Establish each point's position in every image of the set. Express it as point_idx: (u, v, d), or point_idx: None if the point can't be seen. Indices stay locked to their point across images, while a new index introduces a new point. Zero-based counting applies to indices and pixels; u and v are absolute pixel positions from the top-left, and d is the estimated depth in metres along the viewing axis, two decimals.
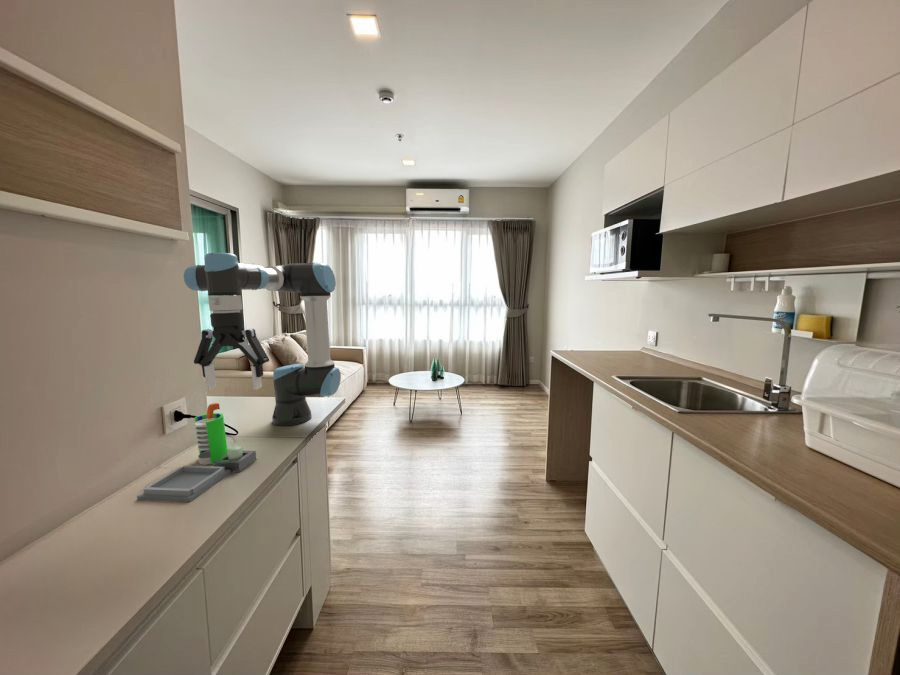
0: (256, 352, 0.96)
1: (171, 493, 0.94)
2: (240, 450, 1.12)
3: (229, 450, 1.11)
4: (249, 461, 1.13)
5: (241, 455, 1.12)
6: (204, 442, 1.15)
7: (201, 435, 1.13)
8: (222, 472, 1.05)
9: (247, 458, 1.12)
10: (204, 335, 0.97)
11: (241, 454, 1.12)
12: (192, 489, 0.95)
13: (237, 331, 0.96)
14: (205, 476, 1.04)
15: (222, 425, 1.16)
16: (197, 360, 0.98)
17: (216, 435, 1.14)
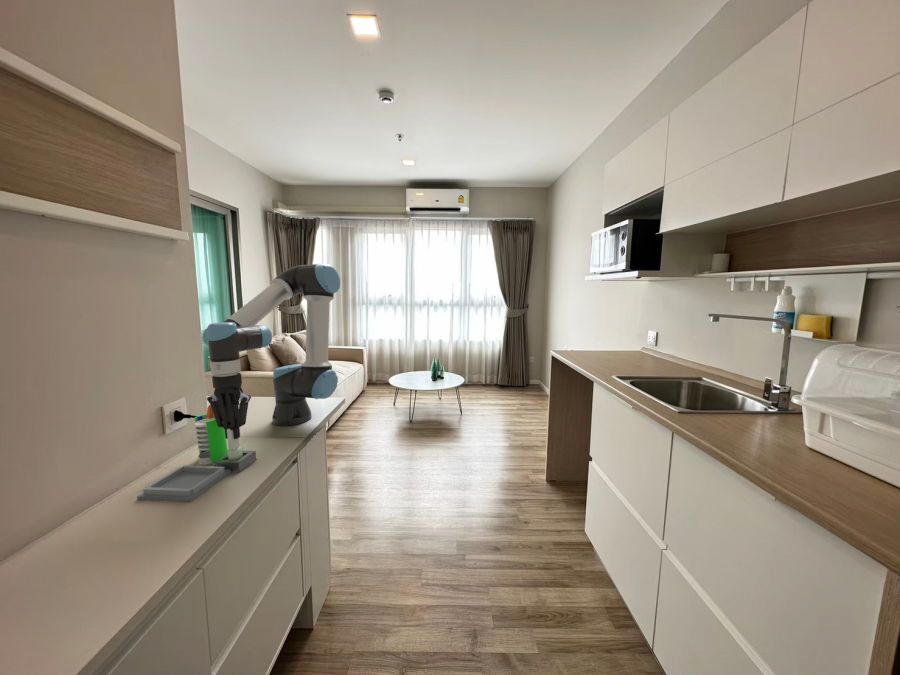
0: (239, 417, 1.09)
1: (171, 493, 0.94)
2: (240, 450, 1.12)
3: (229, 450, 1.11)
4: (249, 461, 1.13)
5: (241, 455, 1.12)
6: (204, 442, 1.15)
7: (201, 435, 1.13)
8: (222, 472, 1.05)
9: (247, 458, 1.12)
10: (210, 400, 1.09)
11: (241, 454, 1.12)
12: (192, 489, 0.95)
13: (237, 392, 1.08)
14: (205, 476, 1.04)
15: None
16: (219, 423, 1.10)
17: (216, 435, 1.14)
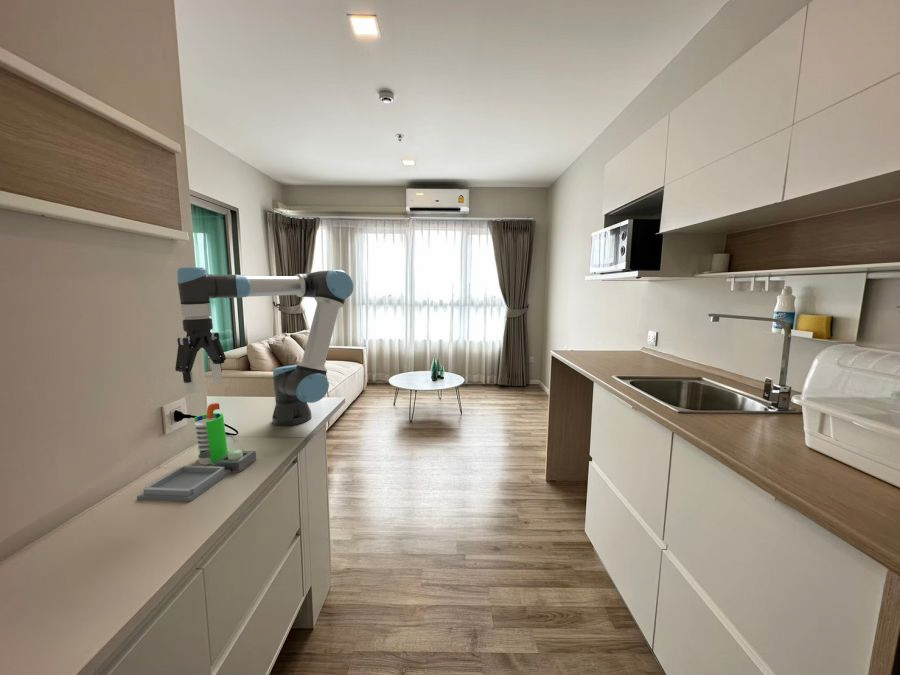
0: None
1: (171, 493, 0.94)
2: (240, 453, 1.12)
3: (229, 453, 1.11)
4: (249, 461, 1.13)
5: None
6: (204, 442, 1.15)
7: (201, 435, 1.13)
8: (222, 472, 1.05)
9: (247, 458, 1.12)
10: None
11: None
12: (192, 489, 0.95)
13: None
14: (205, 476, 1.04)
15: (222, 425, 1.16)
16: None
17: (216, 435, 1.14)
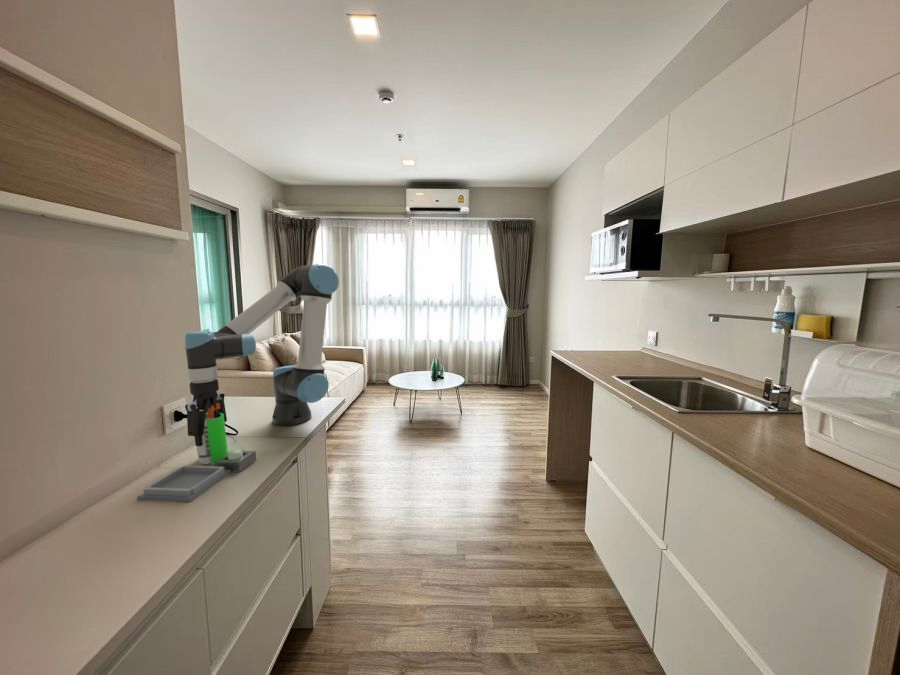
0: None
1: (171, 493, 0.94)
2: (240, 453, 1.12)
3: (229, 453, 1.11)
4: (249, 461, 1.13)
5: None
6: None
7: None
8: (222, 472, 1.05)
9: (247, 458, 1.12)
10: None
11: None
12: (192, 489, 0.95)
13: None
14: (205, 476, 1.04)
15: (222, 425, 1.16)
16: None
17: (216, 434, 1.14)
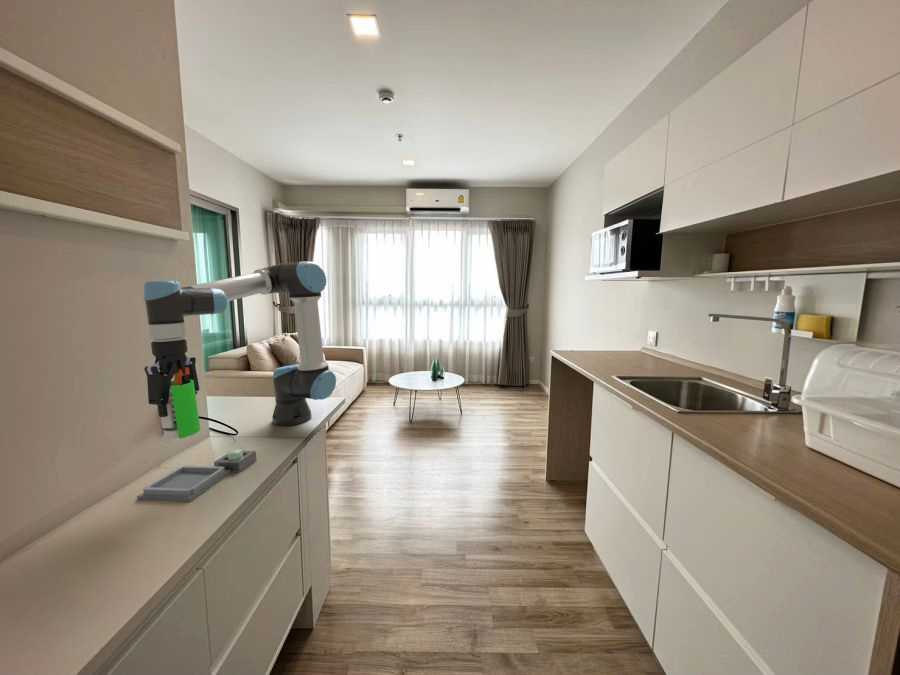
0: None
1: (171, 493, 0.94)
2: (240, 453, 1.12)
3: (229, 453, 1.11)
4: (249, 461, 1.13)
5: None
6: None
7: None
8: (222, 472, 1.05)
9: (247, 458, 1.12)
10: None
11: None
12: (192, 489, 0.95)
13: None
14: (205, 476, 1.04)
15: (192, 393, 0.98)
16: None
17: (184, 404, 0.96)
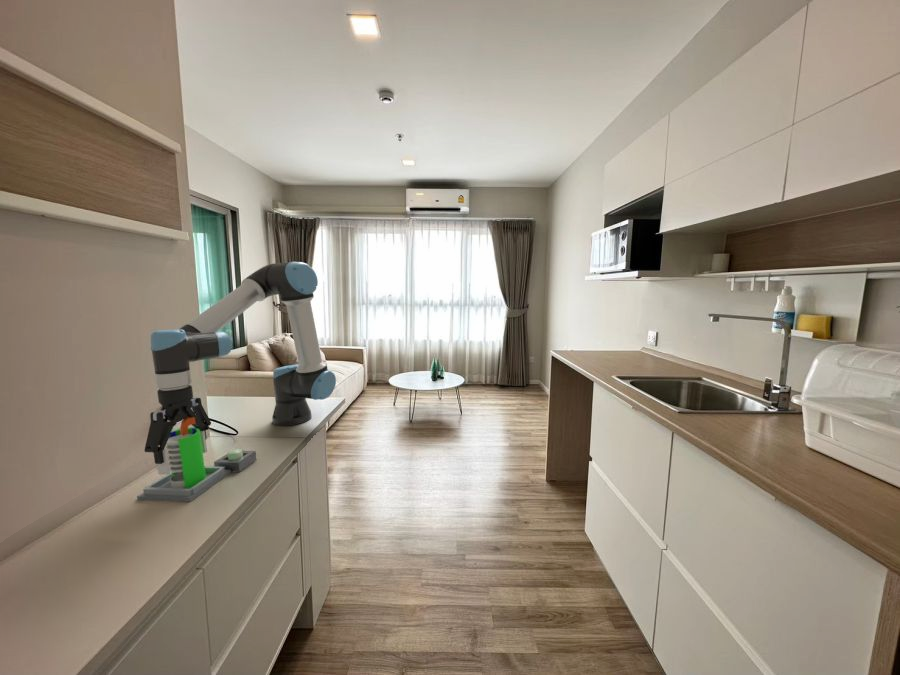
0: None
1: (171, 493, 0.94)
2: (240, 453, 1.12)
3: (229, 453, 1.11)
4: (249, 461, 1.13)
5: None
6: (177, 462, 0.99)
7: (173, 455, 0.97)
8: (222, 472, 1.05)
9: (247, 458, 1.12)
10: None
11: None
12: (192, 489, 0.95)
13: None
14: None
15: (198, 442, 1.00)
16: None
17: (190, 455, 0.98)
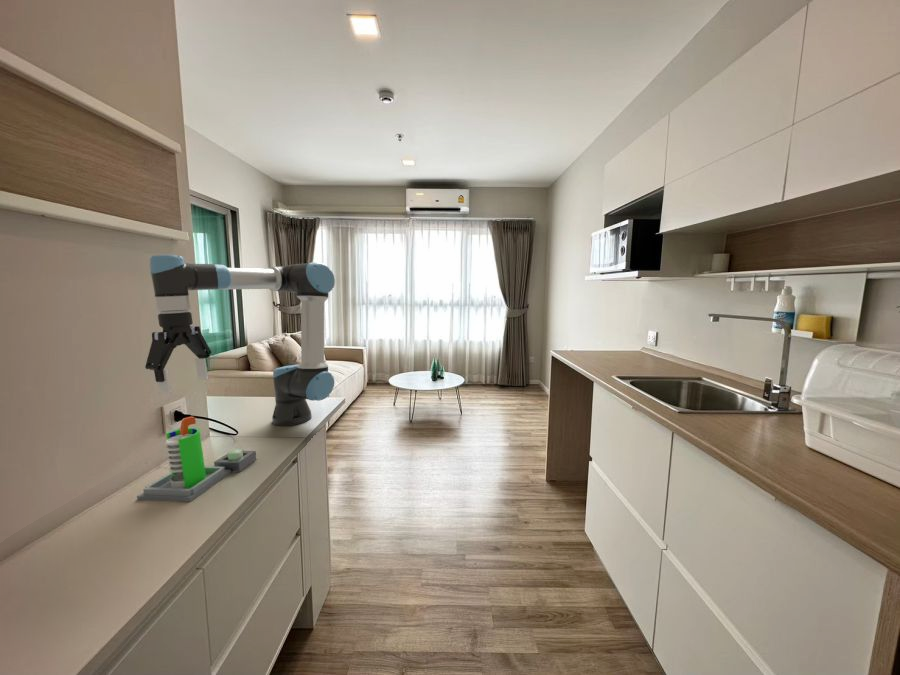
0: None
1: (171, 493, 0.94)
2: (240, 453, 1.12)
3: (229, 453, 1.11)
4: (249, 461, 1.13)
5: None
6: (177, 462, 0.99)
7: (173, 455, 0.97)
8: (222, 472, 1.05)
9: (247, 458, 1.12)
10: None
11: None
12: (192, 489, 0.95)
13: None
14: None
15: (198, 442, 1.00)
16: None
17: (190, 454, 0.98)
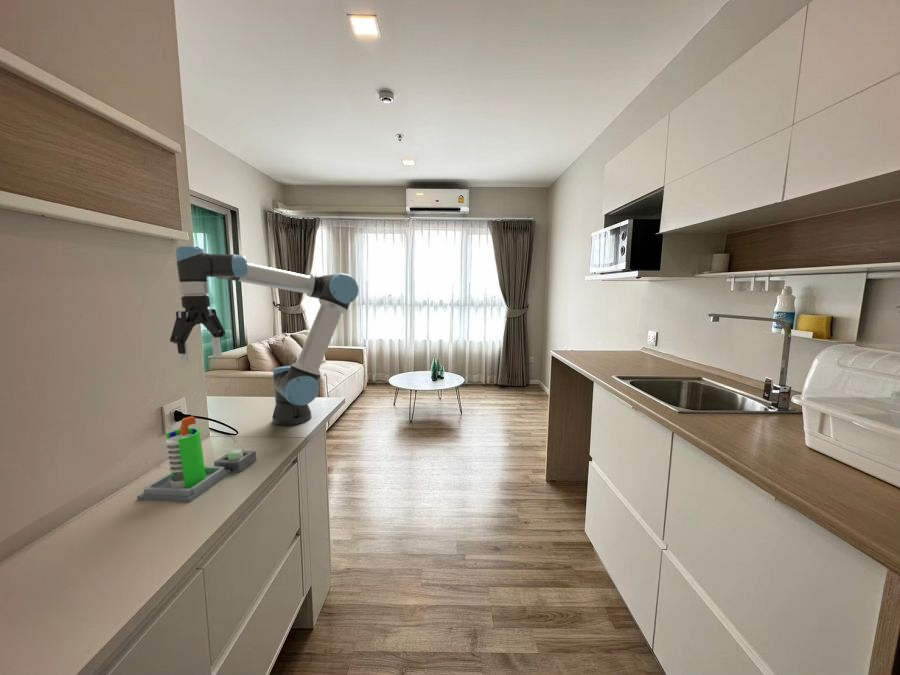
0: None
1: (171, 493, 0.94)
2: (240, 453, 1.12)
3: (229, 453, 1.11)
4: (249, 461, 1.13)
5: None
6: (177, 462, 0.99)
7: (173, 455, 0.97)
8: (222, 472, 1.05)
9: (247, 458, 1.12)
10: None
11: None
12: (192, 489, 0.95)
13: None
14: None
15: (198, 442, 1.00)
16: None
17: (190, 454, 0.98)
